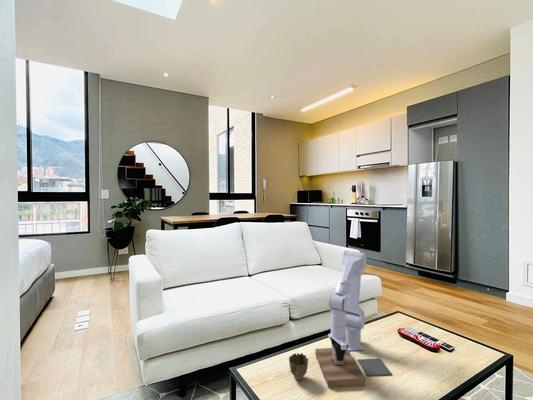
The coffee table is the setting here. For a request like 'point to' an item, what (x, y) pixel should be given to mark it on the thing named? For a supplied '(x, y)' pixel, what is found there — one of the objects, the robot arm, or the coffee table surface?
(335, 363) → the plug
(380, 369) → the mat
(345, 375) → the brown wooden socket board
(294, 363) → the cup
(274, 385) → the coffee table surface
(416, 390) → the coffee table surface
